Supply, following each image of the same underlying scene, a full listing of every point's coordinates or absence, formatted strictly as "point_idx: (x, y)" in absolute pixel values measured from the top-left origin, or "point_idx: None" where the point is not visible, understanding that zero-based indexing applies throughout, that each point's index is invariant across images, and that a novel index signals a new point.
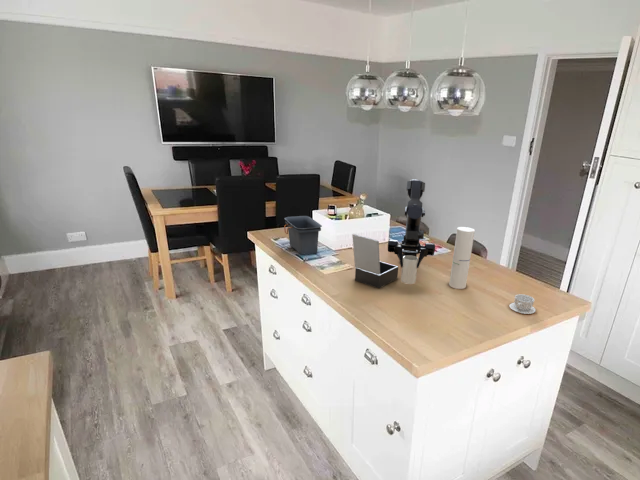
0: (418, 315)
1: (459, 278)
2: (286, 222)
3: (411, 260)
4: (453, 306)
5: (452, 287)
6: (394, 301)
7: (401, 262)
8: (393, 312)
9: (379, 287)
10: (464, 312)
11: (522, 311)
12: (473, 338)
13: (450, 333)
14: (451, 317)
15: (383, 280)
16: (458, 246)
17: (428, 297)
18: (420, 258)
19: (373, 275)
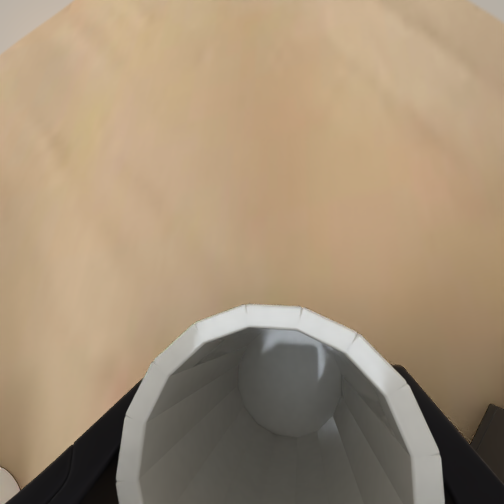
0: (242, 112)
1: None
2: None
3: (253, 304)
4: (80, 228)
5: (16, 483)
6: (359, 224)
7: (419, 401)
8: (353, 111)
9: (489, 410)
10: (53, 182)
11: None
12: (82, 17)
13: (144, 23)
14: (114, 129)
15: (494, 472)
16: None
17: (176, 309)
18: (77, 459)
19: None
